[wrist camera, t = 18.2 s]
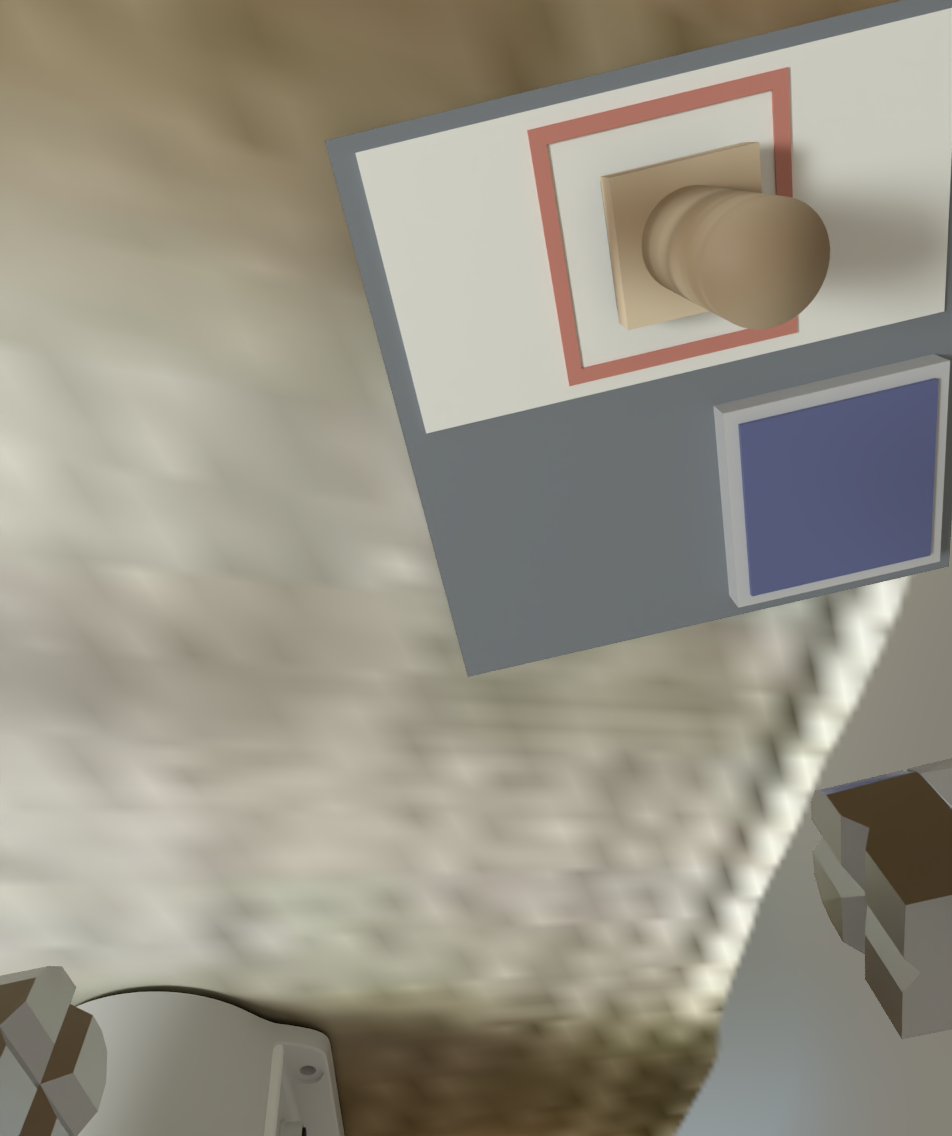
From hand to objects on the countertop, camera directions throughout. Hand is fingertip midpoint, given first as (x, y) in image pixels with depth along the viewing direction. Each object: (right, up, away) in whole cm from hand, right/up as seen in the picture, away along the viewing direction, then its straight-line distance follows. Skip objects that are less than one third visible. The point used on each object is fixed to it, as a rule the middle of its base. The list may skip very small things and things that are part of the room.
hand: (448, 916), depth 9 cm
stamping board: (+7, +11, +22) cm, 25 cm away
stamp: (+6, +15, +18) cm, 24 cm away
